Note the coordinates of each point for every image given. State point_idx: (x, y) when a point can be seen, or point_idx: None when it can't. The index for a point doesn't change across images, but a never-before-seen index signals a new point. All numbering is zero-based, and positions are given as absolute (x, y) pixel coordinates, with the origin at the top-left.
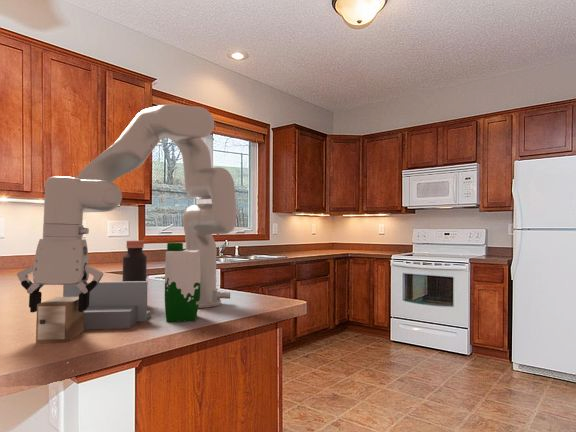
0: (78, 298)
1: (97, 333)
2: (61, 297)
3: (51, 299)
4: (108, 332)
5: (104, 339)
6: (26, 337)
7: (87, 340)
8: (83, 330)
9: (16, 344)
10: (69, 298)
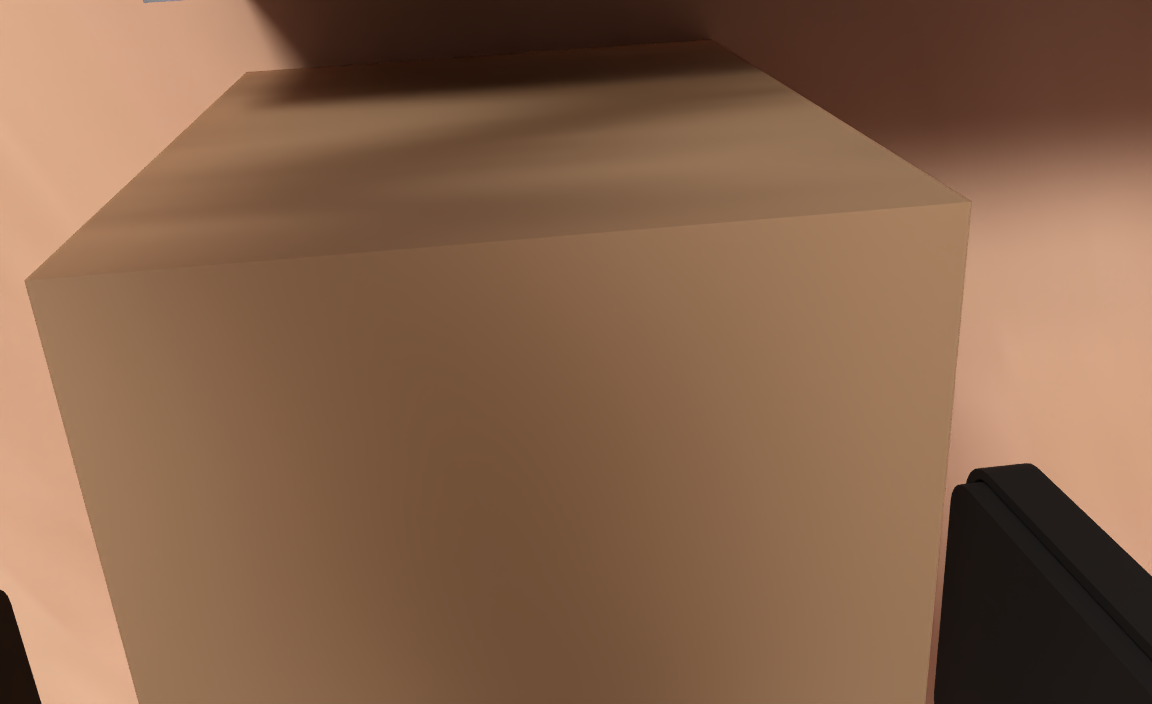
0: (896, 530)
1: (984, 208)
2: (270, 378)
3: (181, 698)
4: (1136, 154)
5: (1140, 499)
6: (3, 407)
7: (943, 539)
8: (714, 43)
9: (135, 698)
10: (632, 539)
